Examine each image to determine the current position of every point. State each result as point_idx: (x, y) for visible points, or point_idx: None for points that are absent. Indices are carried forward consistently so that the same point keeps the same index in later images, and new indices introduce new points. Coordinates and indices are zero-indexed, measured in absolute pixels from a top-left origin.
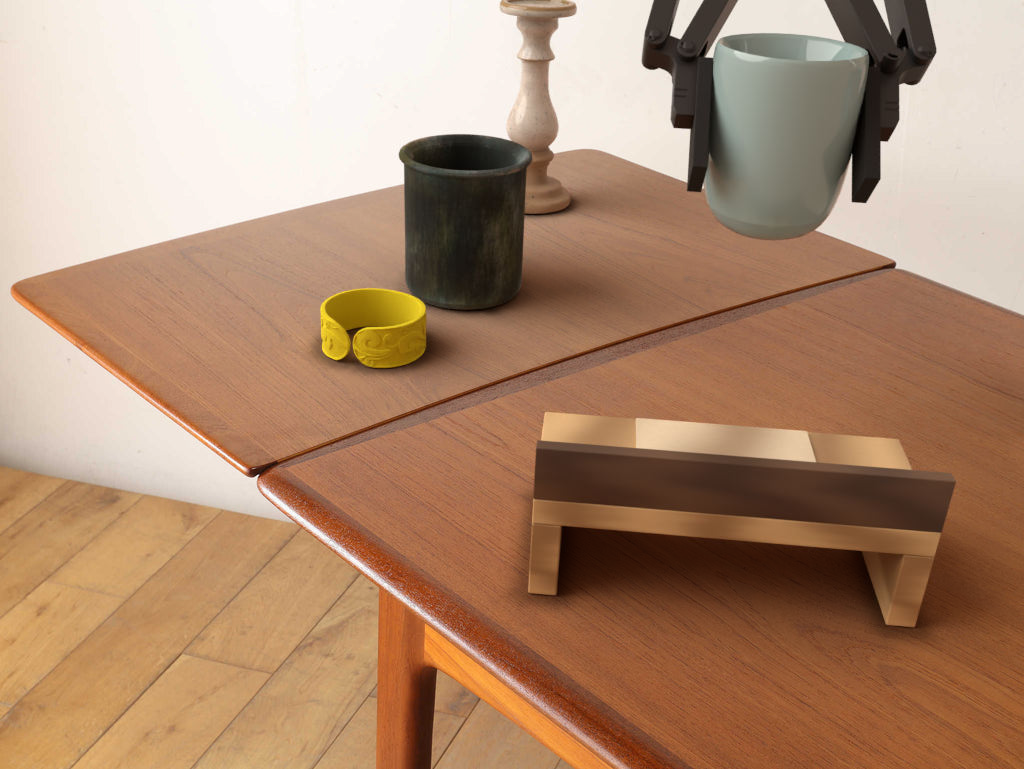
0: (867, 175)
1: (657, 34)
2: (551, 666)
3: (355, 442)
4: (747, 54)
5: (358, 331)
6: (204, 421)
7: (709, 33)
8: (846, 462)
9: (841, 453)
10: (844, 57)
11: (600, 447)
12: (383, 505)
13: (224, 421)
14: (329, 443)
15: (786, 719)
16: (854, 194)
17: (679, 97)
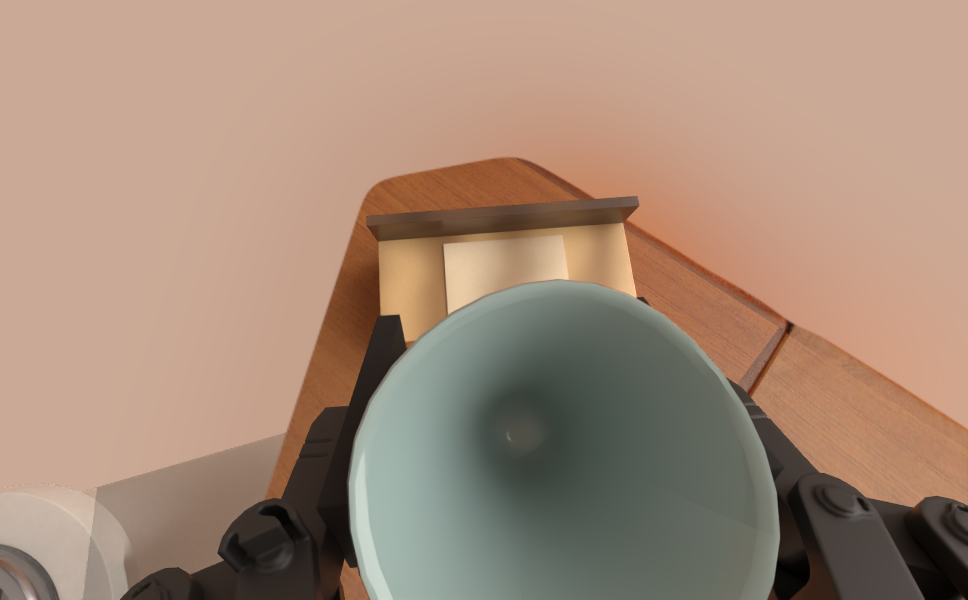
0: (396, 317)
1: (964, 522)
2: (574, 194)
3: (751, 369)
4: (674, 323)
5: None
6: (863, 371)
7: (825, 562)
8: (424, 300)
9: (426, 312)
10: (403, 560)
11: (597, 205)
12: (702, 301)
13: (850, 375)
14: (767, 364)
15: (466, 184)
16: None
17: (743, 402)
